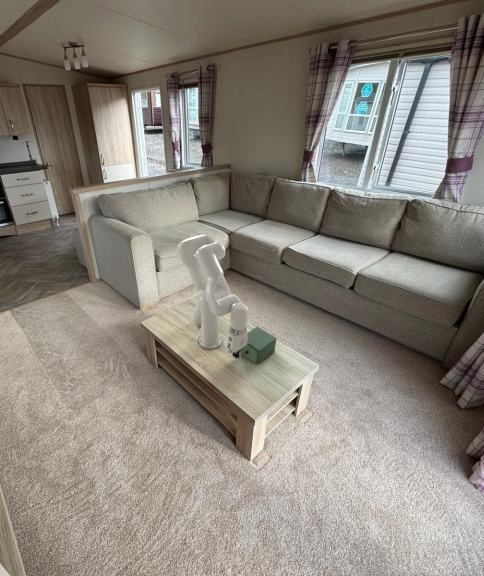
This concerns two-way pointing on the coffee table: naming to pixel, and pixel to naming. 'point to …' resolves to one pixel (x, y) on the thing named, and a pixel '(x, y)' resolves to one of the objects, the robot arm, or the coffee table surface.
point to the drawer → (249, 353)
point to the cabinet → (261, 343)
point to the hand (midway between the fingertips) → (235, 356)
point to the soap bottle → (198, 309)
